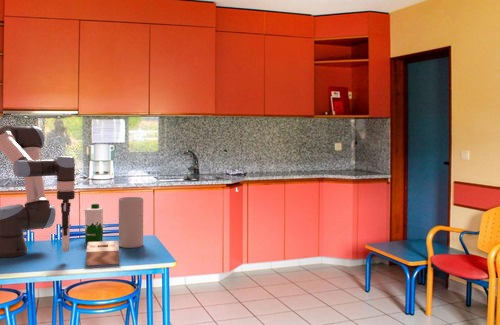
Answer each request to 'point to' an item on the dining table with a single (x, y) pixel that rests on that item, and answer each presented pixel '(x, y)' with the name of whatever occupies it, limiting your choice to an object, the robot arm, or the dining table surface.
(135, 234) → the cylinder vase
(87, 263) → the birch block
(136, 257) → the dining table surface
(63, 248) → the beige wooden bar
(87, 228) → the milk carton
